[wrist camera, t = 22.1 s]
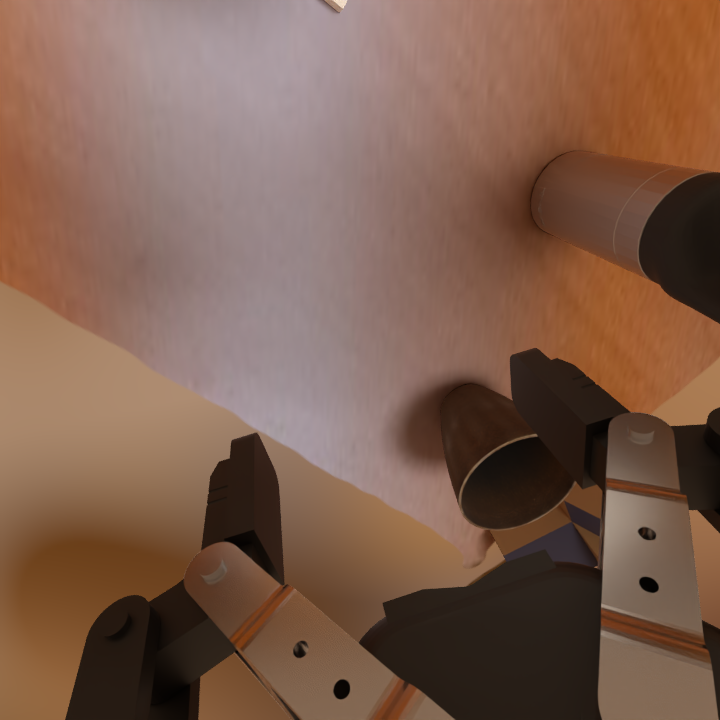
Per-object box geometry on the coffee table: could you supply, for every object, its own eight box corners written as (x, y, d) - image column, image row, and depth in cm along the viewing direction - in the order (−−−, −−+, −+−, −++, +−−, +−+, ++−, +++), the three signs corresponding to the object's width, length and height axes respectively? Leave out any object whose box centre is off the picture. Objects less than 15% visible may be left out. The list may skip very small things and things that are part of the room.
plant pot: (519, 352, 62) (593, 422, 48) (509, 435, 70) (570, 516, 56) (415, 370, 60) (461, 449, 46) (416, 453, 68) (456, 542, 54)
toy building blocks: (589, 496, 82) (706, 636, 60) (497, 543, 83) (579, 695, 62) (575, 454, 75) (701, 594, 54) (475, 506, 77) (559, 661, 55)
